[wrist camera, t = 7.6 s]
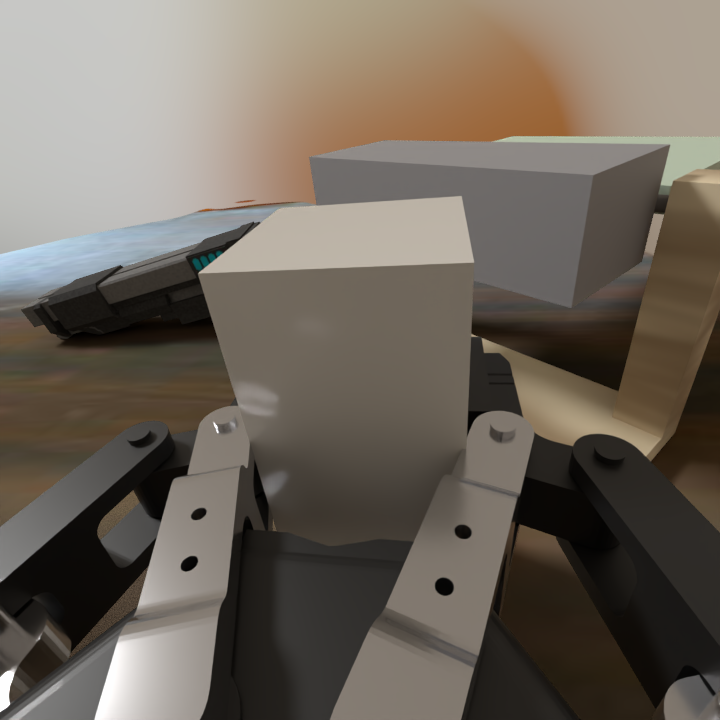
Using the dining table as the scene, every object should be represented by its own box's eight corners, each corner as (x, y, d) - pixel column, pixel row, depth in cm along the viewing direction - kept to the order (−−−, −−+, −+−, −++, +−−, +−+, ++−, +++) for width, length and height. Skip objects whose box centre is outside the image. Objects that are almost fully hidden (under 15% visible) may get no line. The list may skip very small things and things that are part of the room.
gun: (306, 322, 33) (229, 195, 28) (107, 407, 38) (14, 313, 33) (314, 297, 36) (247, 181, 32) (132, 378, 42) (52, 289, 37)
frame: (583, 542, 16) (661, 242, 10) (300, 357, 29) (262, 181, 23) (674, 432, 20) (769, 172, 14) (389, 313, 33) (376, 153, 27)
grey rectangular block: (457, 656, 13) (473, 262, 7) (309, 639, 14) (197, 273, 7) (453, 526, 17) (461, 196, 10) (337, 518, 17) (279, 208, 11)
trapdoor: (580, 310, 14) (604, 175, 12) (318, 236, 24) (305, 156, 22) (754, 192, 22) (787, 100, 20) (506, 174, 32) (510, 112, 30)
